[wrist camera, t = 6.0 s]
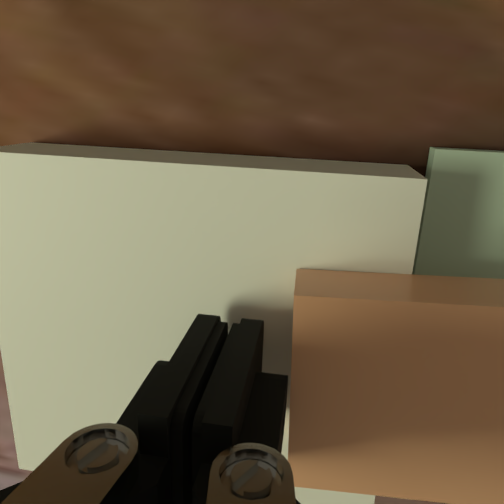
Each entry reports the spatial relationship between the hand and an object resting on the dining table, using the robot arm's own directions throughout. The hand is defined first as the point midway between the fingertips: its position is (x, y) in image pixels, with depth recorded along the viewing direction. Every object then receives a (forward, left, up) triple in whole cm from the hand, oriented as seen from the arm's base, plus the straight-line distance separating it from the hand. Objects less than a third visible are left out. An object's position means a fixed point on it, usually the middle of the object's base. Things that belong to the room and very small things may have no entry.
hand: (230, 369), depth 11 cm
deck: (+1, 0, -3) cm, 3 cm away
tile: (-5, 0, -1) cm, 5 cm away
